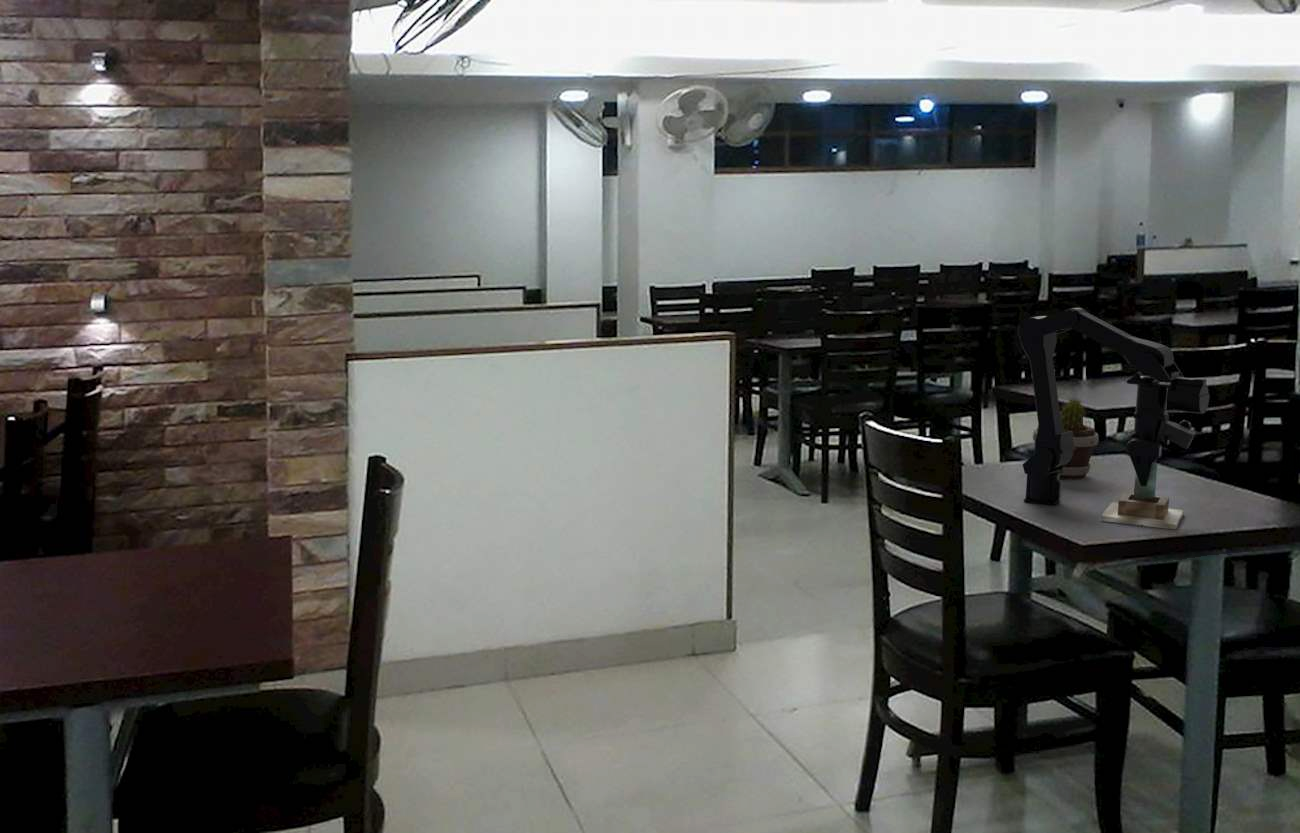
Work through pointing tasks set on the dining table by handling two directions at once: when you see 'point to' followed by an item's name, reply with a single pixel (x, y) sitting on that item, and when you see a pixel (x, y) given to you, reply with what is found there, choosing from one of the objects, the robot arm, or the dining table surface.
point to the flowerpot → (1077, 440)
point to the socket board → (1143, 512)
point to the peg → (1147, 490)
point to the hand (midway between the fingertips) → (1144, 484)
